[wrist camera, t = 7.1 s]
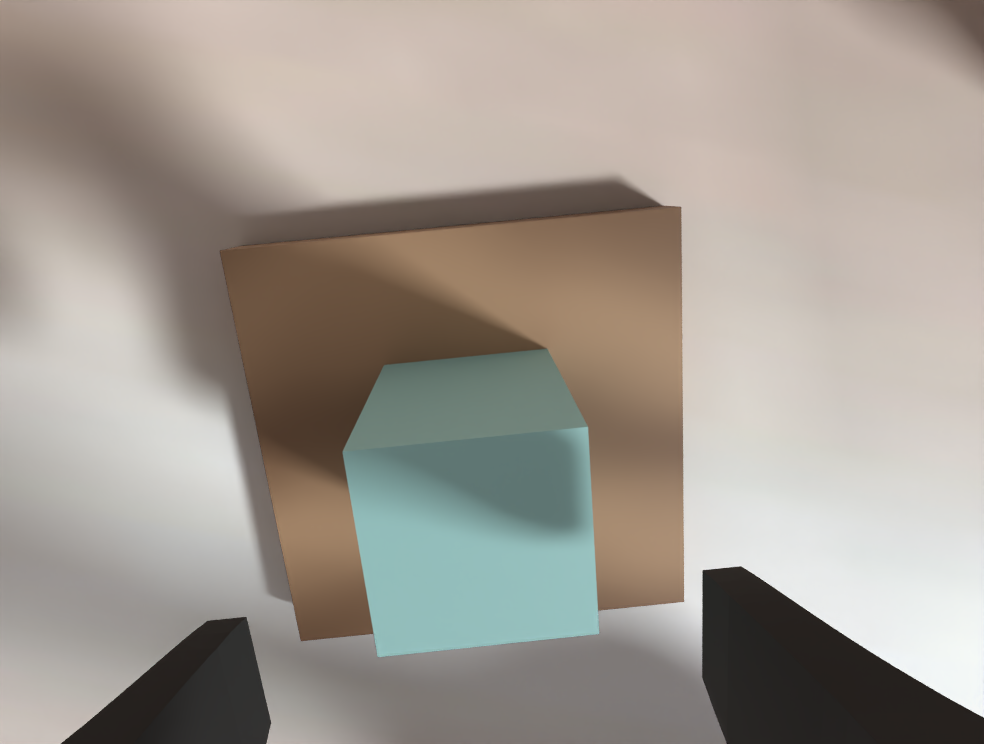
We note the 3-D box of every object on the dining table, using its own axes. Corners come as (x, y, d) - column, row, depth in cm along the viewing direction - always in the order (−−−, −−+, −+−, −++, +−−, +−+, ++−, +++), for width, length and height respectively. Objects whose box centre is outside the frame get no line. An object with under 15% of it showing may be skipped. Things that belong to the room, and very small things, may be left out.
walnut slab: (669, 573, 21) (683, 601, 20) (312, 610, 21) (301, 641, 20) (664, 205, 18) (681, 206, 16) (240, 246, 18) (220, 250, 16)
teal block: (557, 496, 18) (599, 633, 13) (405, 512, 18) (378, 657, 13) (547, 348, 17) (587, 426, 11) (384, 364, 17) (342, 452, 11)
